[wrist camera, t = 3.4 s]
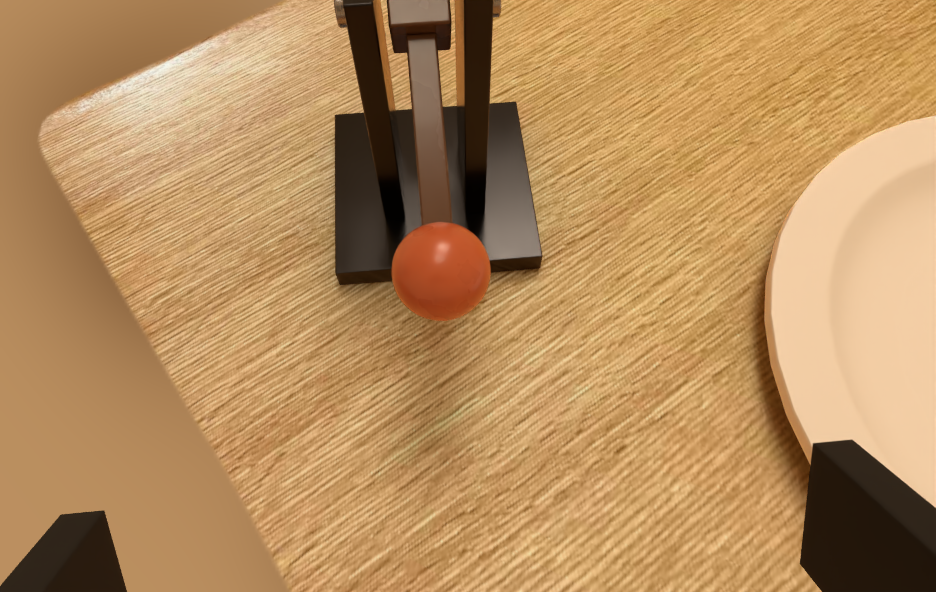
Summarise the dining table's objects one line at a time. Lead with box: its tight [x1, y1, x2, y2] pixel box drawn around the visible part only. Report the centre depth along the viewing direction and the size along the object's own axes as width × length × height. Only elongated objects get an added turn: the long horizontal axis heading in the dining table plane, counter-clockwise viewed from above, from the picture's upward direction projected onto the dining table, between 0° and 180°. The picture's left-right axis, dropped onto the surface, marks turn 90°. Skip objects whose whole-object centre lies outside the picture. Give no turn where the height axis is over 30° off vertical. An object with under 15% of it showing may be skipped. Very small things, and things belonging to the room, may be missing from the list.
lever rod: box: [387, 0, 491, 321], centre depth 24 cm, size 13×4×4 cm, turn 5°
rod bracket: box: [334, 0, 542, 285], centre depth 29 cm, size 10×10×14 cm
